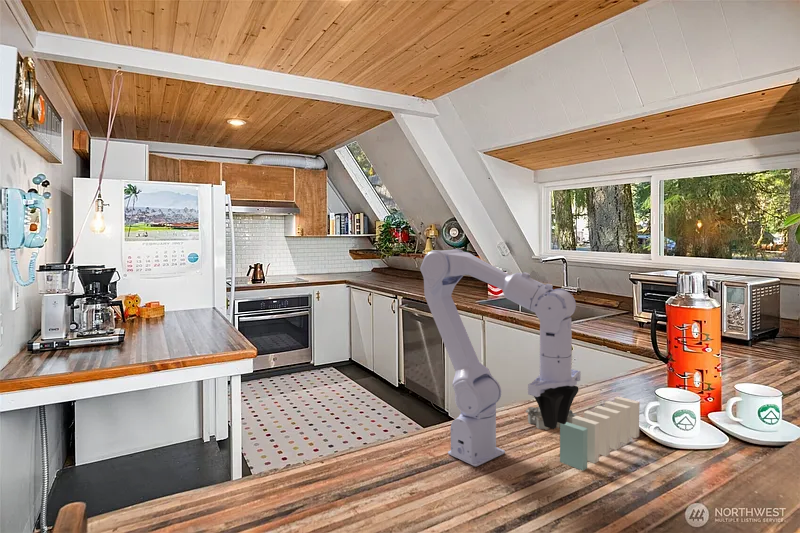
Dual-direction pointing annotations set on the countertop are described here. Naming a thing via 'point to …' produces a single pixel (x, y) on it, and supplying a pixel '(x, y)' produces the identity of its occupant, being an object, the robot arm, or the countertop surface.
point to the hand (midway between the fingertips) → (555, 424)
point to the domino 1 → (573, 445)
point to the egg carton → (537, 419)
